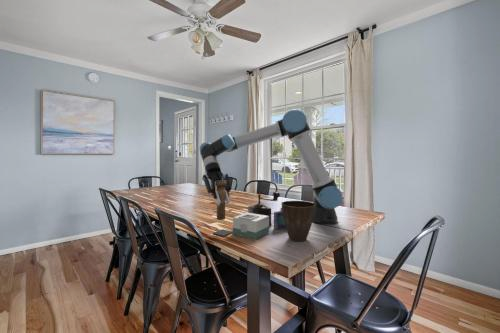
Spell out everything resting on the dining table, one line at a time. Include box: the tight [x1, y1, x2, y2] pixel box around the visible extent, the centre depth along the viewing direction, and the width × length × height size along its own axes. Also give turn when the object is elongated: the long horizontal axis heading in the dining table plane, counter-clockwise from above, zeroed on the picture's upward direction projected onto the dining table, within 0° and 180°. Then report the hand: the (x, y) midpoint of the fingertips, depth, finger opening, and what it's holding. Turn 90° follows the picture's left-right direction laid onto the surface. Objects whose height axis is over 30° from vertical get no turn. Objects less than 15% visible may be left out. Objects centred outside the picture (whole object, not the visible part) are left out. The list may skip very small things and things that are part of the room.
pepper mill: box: [247, 191, 281, 227], centre depth 134 cm, size 16×11×18 cm
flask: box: [273, 207, 287, 231], centre depth 125 cm, size 9×3×11 cm, turn 109°
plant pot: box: [280, 200, 315, 242], centre depth 110 cm, size 15×15×16 cm
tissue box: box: [232, 212, 270, 240], centre depth 118 cm, size 13×12×9 cm
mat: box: [212, 228, 233, 238], centre depth 118 cm, size 7×7×1 cm
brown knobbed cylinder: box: [215, 179, 226, 221], centre depth 117 cm, size 5×5×18 cm
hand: (224, 203), depth 114 cm, fingers closed on brown knobbed cylinder, 4 cm apart
